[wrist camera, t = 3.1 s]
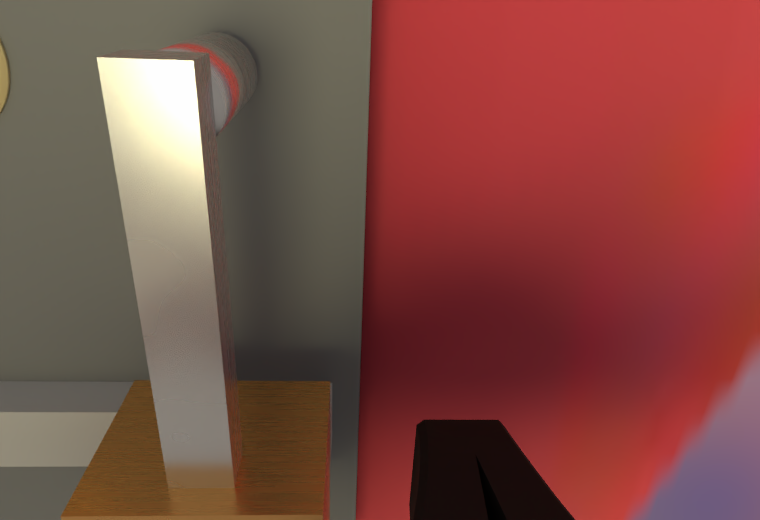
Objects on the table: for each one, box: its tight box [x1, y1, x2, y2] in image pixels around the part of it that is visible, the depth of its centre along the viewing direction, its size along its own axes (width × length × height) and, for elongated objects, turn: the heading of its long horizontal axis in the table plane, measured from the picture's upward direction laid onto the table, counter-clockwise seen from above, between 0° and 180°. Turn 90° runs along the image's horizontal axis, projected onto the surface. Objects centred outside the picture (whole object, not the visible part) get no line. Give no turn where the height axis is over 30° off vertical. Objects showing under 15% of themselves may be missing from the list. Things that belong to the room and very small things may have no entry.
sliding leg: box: [61, 32, 330, 520], centre depth 8 cm, size 3×8×3 cm, turn 178°
